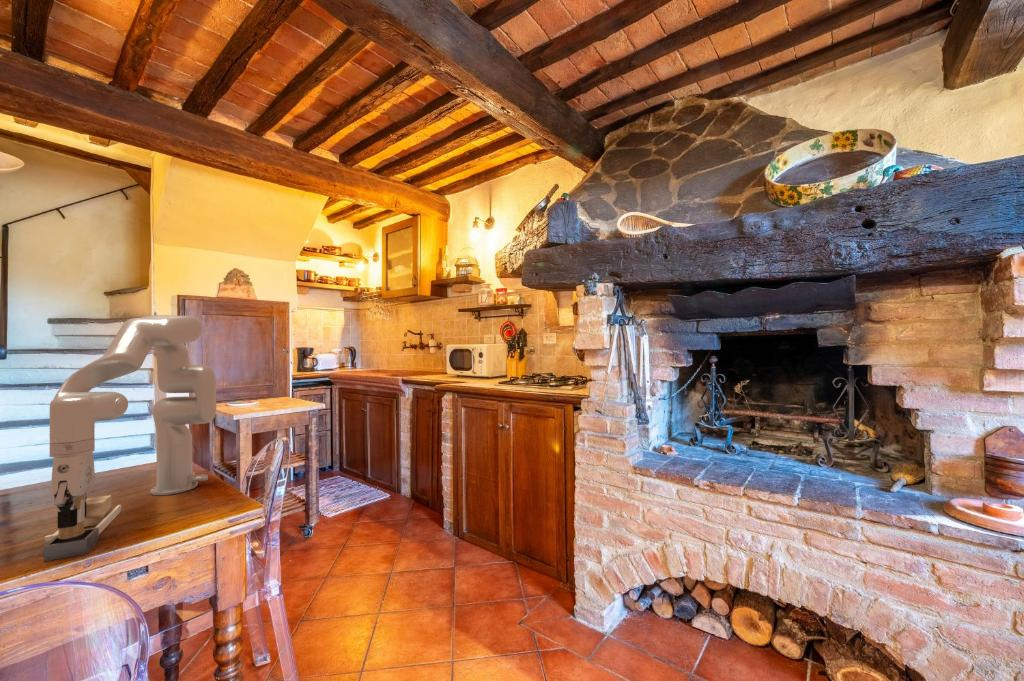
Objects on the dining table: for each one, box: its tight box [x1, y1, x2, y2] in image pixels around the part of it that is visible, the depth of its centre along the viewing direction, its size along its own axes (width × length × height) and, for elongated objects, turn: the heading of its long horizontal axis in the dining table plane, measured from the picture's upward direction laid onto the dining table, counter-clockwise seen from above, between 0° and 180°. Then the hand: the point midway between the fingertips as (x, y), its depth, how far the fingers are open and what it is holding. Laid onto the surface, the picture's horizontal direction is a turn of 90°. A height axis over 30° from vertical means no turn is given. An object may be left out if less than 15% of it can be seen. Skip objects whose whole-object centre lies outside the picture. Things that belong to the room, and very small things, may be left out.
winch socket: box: [43, 527, 100, 562], centre depth 100 cm, size 7×7×4 cm
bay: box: [44, 504, 122, 546], centre depth 112 cm, size 9×21×3 cm, turn 29°
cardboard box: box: [84, 494, 112, 528], centre depth 116 cm, size 6×6×6 cm
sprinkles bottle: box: [58, 494, 85, 539], centre depth 100 cm, size 5×5×14 cm
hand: (72, 521), depth 100 cm, fingers closed on sprinkles bottle, 4 cm apart
